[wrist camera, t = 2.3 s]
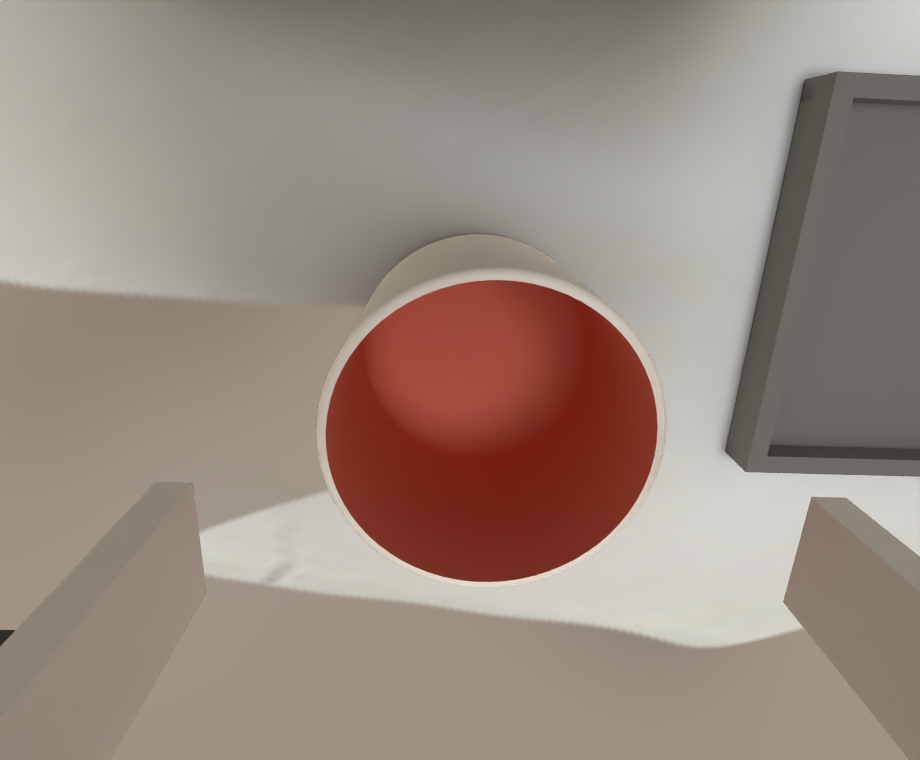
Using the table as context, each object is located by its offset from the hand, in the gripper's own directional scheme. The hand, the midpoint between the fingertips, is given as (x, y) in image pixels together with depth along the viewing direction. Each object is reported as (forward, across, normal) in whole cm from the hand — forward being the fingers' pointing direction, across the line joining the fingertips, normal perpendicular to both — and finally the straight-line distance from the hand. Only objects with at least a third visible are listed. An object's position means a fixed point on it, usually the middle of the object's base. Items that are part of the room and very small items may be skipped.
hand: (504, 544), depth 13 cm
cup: (+15, 0, 0) cm, 15 cm away
